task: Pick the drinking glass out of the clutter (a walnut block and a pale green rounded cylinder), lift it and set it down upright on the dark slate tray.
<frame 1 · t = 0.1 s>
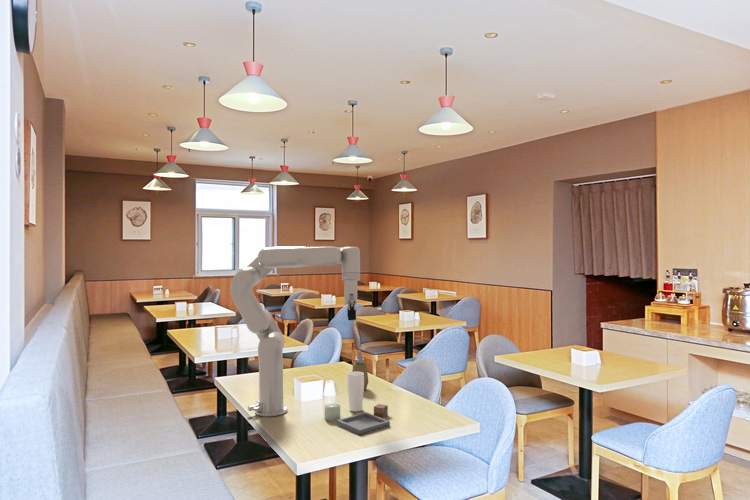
hand: (351, 318, 206), 37 cm above the table, tool pointing down, fingers open, 9 cm apart
slate tray: (363, 425, 186), on the table
walnut block: (380, 416, 197), on the table
squeeze bottle: (359, 390, 235), on the table
pale green rounded cylinder: (332, 418, 194), on the table
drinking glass: (356, 410, 204), on the table
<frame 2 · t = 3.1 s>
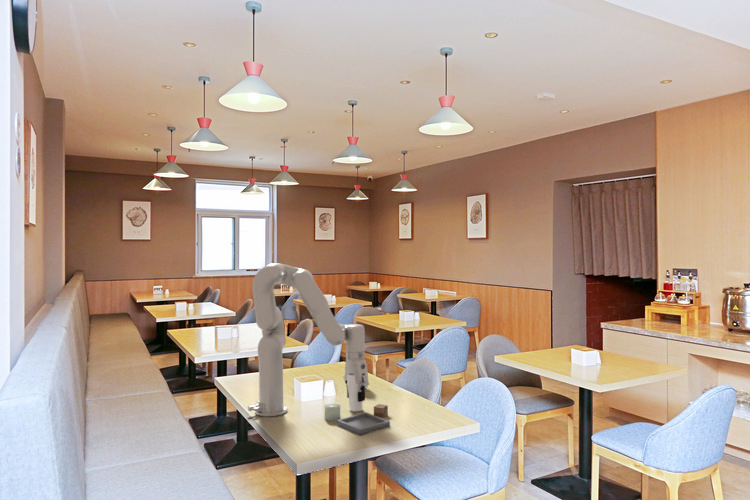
hand: (356, 398, 204), 5 cm above the table, tool pointing down, fingers closed on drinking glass, 6 cm apart
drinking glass: (356, 410, 204), on the table, touching gripper
everything else where it was.
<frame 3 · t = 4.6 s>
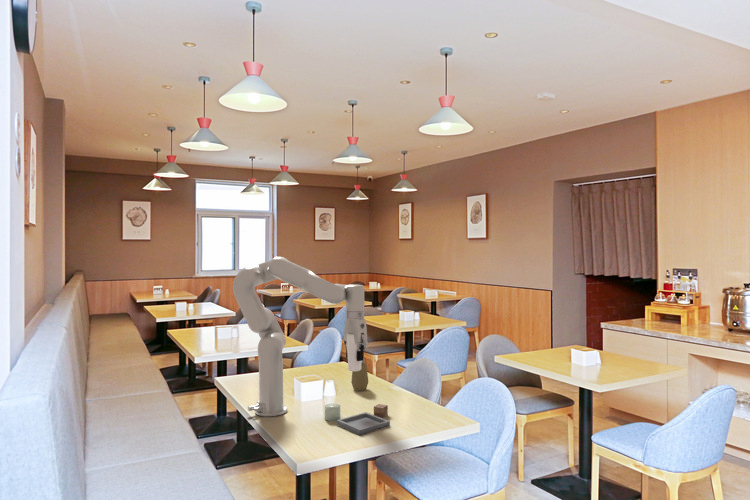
hand: (354, 358, 204), 21 cm above the table, tool pointing down, fingers closed on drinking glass, 6 cm apart
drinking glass: (354, 370, 204), point 16 cm above the table, touching gripper
everything else where it was.
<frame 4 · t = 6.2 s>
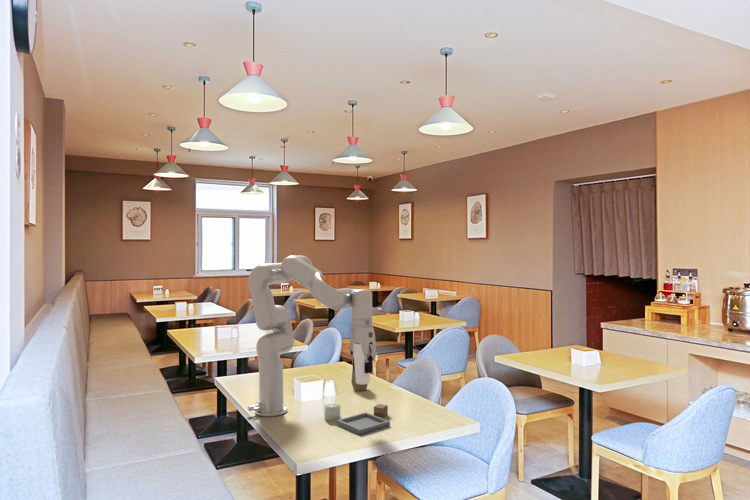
hand: (362, 370, 186), 20 cm above the table, tool pointing down, fingers closed on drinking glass, 6 cm apart
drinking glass: (362, 383, 186), point 15 cm above the table, touching gripper
everything else where it was.
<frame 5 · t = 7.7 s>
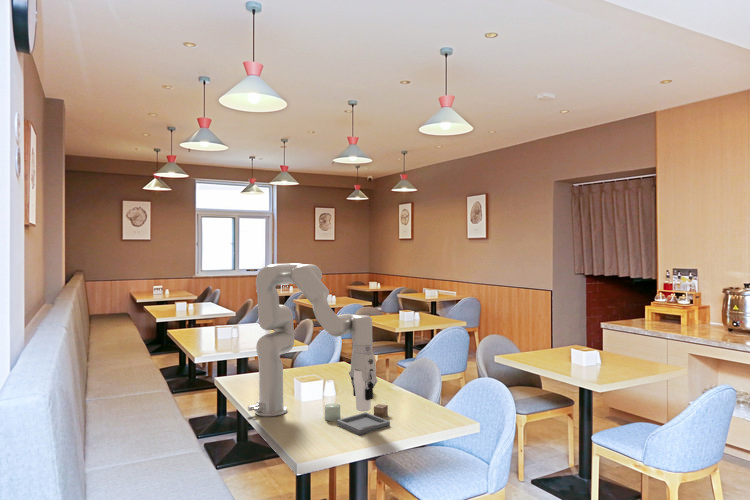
hand: (363, 397, 186), 11 cm above the table, tool pointing down, fingers closed on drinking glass, 6 cm apart
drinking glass: (363, 410, 186), point 6 cm above the table, touching gripper
everything else where it was.
when the fingers open (6 cm above the table, at t = 9.2 s): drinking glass stays where it is, resting on slate tray.
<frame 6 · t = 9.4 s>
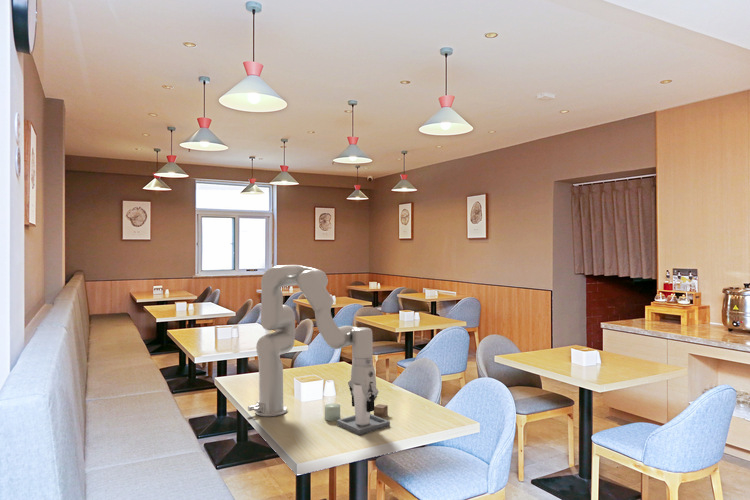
hand: (362, 408, 186), 6 cm above the table, tool pointing down, fingers open, 8 cm apart
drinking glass: (362, 424, 186), resting on slate tray
everything else where it was.
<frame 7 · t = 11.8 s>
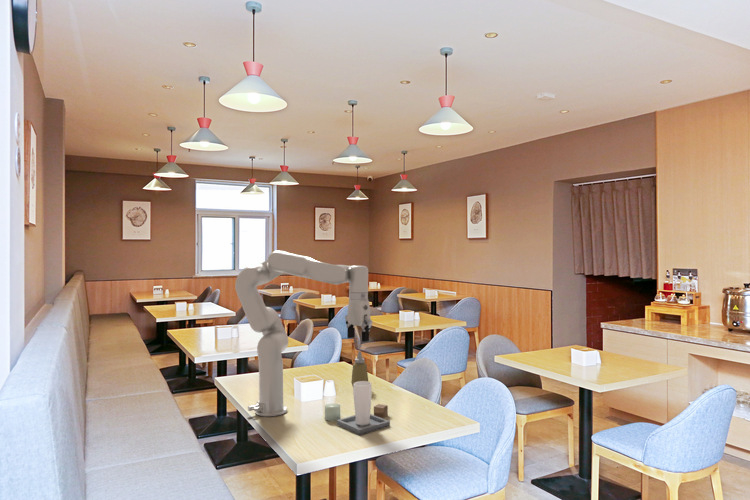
hand: (358, 339, 200), 30 cm above the table, tool pointing down, fingers open, 9 cm apart
nothing on the table moved.
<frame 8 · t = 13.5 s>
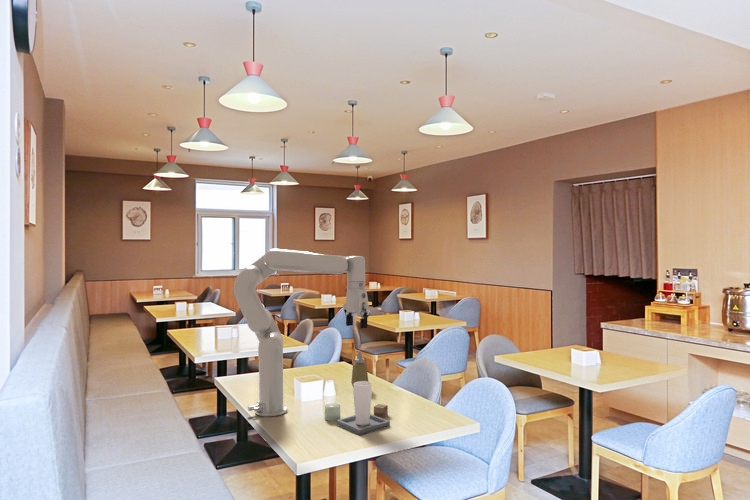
hand: (356, 326, 208), 33 cm above the table, tool pointing down, fingers open, 9 cm apart
nothing on the table moved.
at the end: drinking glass inside the target area on the slate tray (0.2 cm from its centre), point 0.4 cm above the slate tray's base; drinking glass tilted 0°; the gripper is holding nothing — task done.
